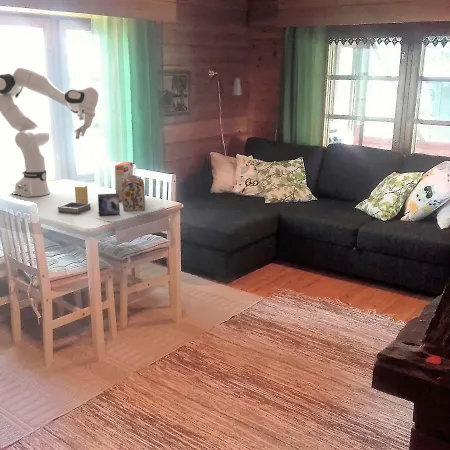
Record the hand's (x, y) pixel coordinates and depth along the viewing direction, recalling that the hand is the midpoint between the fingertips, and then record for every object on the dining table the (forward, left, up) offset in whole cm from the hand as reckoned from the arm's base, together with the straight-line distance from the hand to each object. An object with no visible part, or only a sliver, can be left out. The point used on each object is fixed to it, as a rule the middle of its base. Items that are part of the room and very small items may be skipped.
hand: (79, 137), depth 307 cm
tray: (+11, -26, -36) cm, 45 cm away
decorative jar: (+38, -10, -36) cm, 53 cm away
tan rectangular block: (+6, -11, -36) cm, 38 cm away
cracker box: (+23, +8, -36) cm, 43 cm away
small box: (+32, -26, -36) cm, 55 cm away
